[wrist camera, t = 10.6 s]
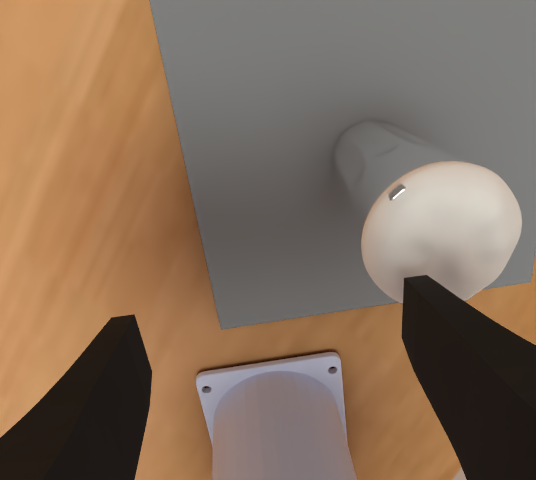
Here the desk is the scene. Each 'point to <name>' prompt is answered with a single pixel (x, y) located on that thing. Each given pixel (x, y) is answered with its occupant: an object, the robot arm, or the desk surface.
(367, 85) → the mat
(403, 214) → the milkshake
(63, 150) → the desk surface
